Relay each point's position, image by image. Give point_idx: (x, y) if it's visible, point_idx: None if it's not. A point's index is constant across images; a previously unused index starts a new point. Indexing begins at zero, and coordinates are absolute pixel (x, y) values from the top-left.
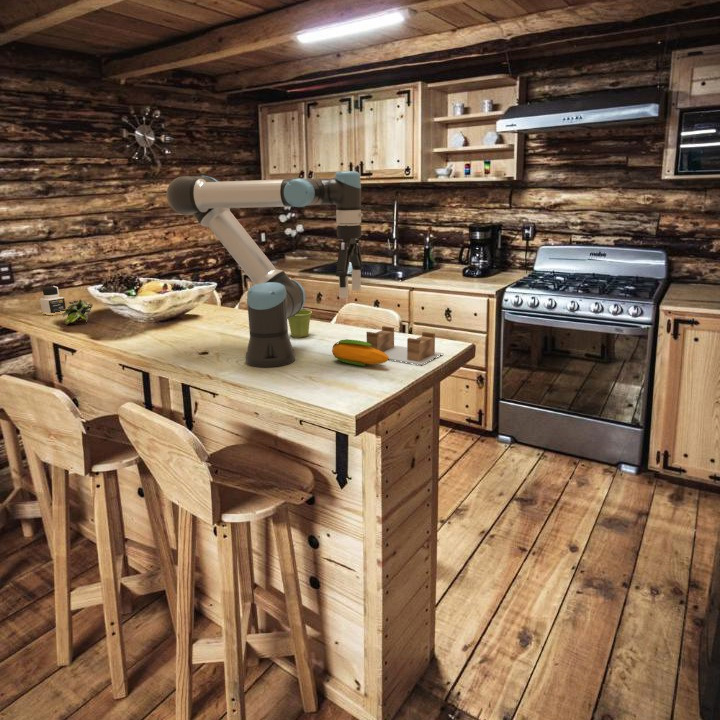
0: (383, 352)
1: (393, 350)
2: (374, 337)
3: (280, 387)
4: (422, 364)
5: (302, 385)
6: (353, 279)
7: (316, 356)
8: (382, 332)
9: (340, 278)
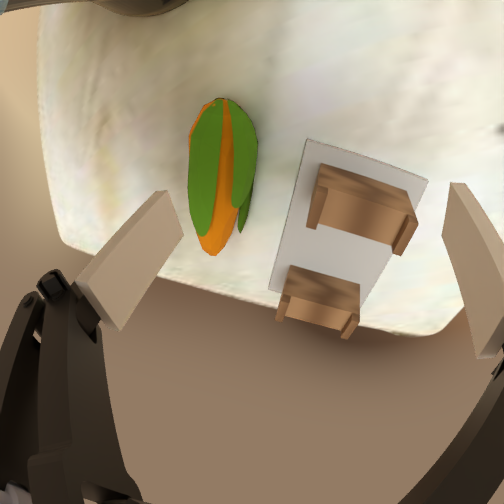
0: (212, 251)
1: None
2: (309, 211)
3: (53, 109)
4: (273, 289)
5: (74, 134)
6: (475, 243)
7: (244, 31)
8: (378, 220)
9: (74, 287)
